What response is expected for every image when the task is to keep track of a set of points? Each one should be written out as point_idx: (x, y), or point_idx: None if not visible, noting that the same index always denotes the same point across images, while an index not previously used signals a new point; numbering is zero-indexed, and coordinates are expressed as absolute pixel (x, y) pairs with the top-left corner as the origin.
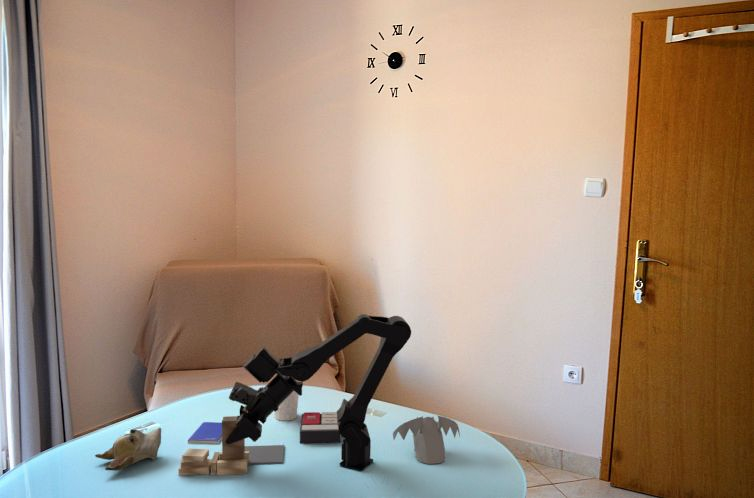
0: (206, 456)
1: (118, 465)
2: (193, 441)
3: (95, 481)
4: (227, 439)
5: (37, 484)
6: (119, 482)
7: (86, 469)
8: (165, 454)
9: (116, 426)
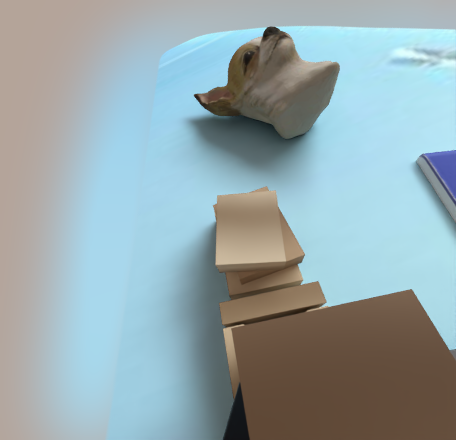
0: (253, 268)
1: (205, 103)
2: (427, 170)
3: (185, 107)
4: (236, 395)
5: (177, 64)
6: (181, 135)
7: (227, 79)
8: (323, 147)
9: (410, 30)
